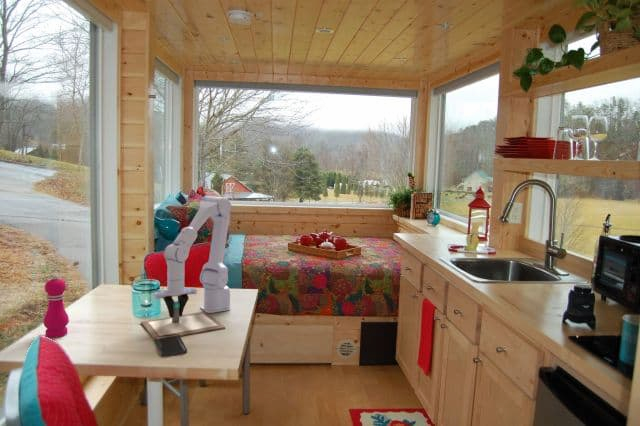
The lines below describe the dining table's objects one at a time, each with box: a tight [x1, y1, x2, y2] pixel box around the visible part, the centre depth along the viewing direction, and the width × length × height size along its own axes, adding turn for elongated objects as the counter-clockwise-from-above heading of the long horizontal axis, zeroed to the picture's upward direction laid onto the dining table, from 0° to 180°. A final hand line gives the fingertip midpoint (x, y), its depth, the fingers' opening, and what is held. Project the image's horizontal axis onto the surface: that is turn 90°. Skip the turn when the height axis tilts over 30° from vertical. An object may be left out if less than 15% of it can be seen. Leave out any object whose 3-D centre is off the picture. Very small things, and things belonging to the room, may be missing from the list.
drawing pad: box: [140, 311, 226, 341], centre depth 171 cm, size 24×18×1 cm
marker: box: [172, 300, 180, 323], centre depth 171 cm, size 3×3×7 cm
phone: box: [154, 334, 188, 358], centre depth 153 cm, size 8×1×15 cm
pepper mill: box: [43, 274, 70, 339], centre depth 157 cm, size 7×7×20 cm
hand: (175, 316), depth 172 cm, fingers closed on marker, 3 cm apart
